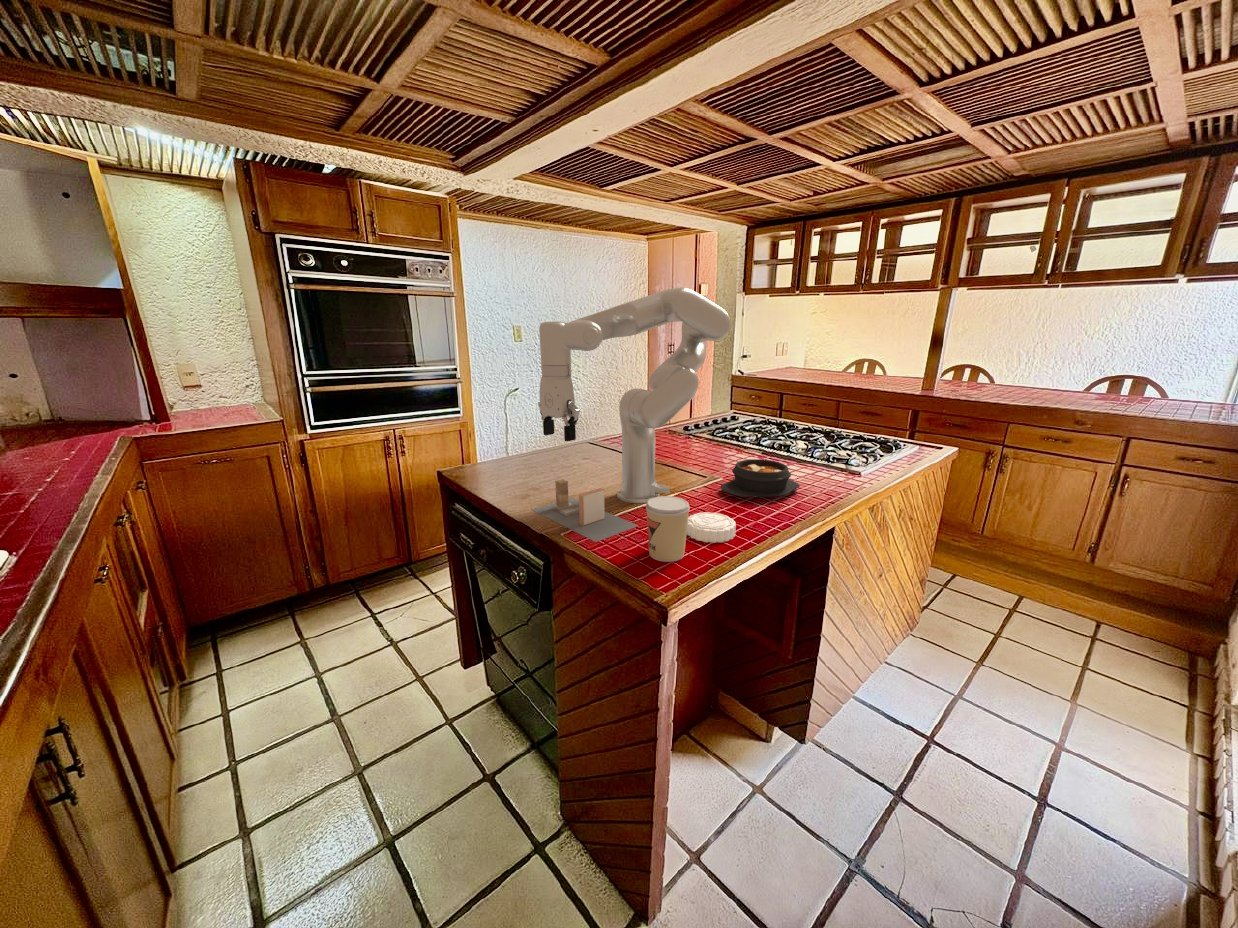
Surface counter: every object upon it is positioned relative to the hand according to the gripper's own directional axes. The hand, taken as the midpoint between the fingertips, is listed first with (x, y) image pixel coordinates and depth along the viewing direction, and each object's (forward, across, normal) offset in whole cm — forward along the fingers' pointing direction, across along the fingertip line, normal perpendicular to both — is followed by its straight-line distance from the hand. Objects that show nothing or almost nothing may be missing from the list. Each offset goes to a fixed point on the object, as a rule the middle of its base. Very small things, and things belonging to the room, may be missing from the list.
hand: (559, 437), depth 127 cm
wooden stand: (+20, +2, 0) cm, 20 cm away
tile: (+20, +13, 0) cm, 24 cm away
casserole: (+21, +29, +52) cm, 63 cm away
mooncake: (+21, +37, +18) cm, 46 cm away
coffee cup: (+20, +38, +1) cm, 43 cm away
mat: (+20, +9, 0) cm, 22 cm away
